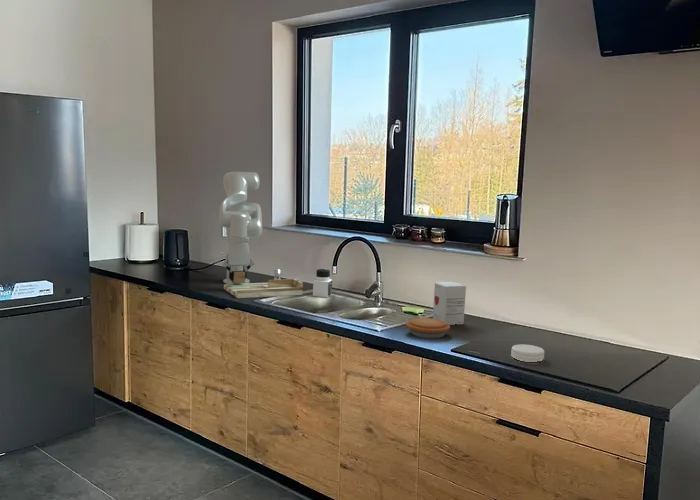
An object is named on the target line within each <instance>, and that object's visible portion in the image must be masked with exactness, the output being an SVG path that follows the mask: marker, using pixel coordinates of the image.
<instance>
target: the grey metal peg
mask: <svg viewBox="0 0 700 500" xmlns="http://www.w3.org/2000/svg"><path fill="white" fill-rule="evenodd" d="M281 271H282V269H280V268H274V269H273V280H279V279H282V278H281V274H282V273H281Z"/></svg>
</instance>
